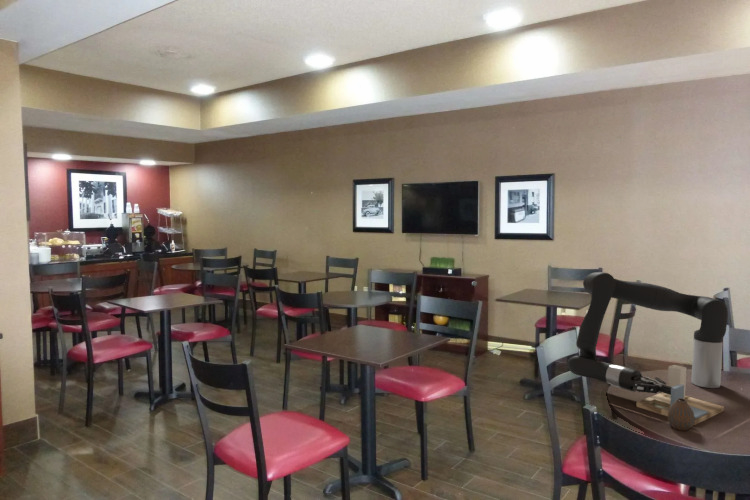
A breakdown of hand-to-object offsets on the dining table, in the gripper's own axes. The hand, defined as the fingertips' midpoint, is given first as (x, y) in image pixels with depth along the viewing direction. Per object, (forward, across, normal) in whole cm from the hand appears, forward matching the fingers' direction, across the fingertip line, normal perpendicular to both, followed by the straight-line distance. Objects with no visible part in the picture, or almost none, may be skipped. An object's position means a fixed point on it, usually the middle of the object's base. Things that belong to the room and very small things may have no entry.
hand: (675, 392), depth 164 cm
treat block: (-5, +12, +7) cm, 14 cm away
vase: (+6, -9, +8) cm, 13 cm away
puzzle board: (-1, +6, +8) cm, 9 cm away
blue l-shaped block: (+4, 0, +5) cm, 7 cm away
